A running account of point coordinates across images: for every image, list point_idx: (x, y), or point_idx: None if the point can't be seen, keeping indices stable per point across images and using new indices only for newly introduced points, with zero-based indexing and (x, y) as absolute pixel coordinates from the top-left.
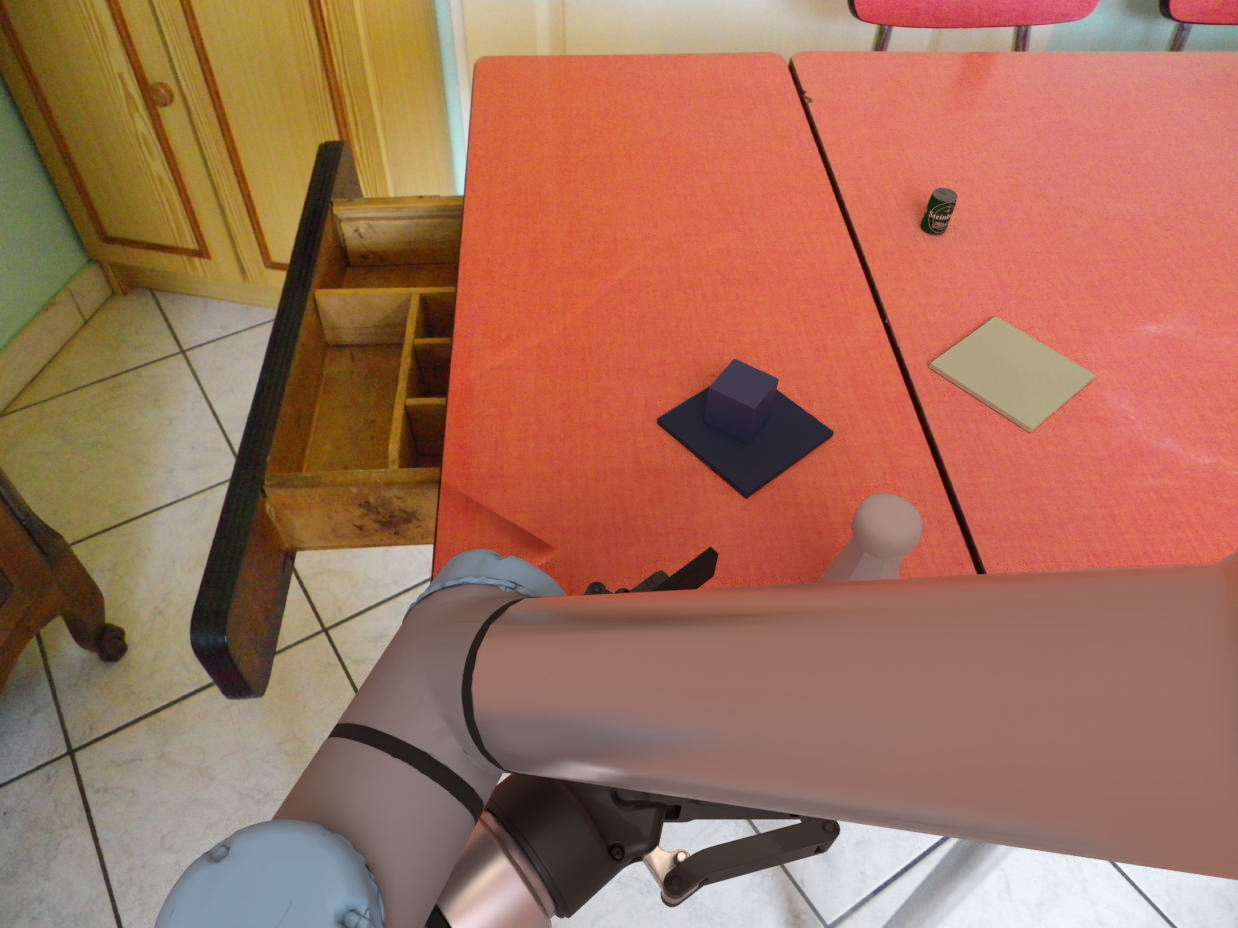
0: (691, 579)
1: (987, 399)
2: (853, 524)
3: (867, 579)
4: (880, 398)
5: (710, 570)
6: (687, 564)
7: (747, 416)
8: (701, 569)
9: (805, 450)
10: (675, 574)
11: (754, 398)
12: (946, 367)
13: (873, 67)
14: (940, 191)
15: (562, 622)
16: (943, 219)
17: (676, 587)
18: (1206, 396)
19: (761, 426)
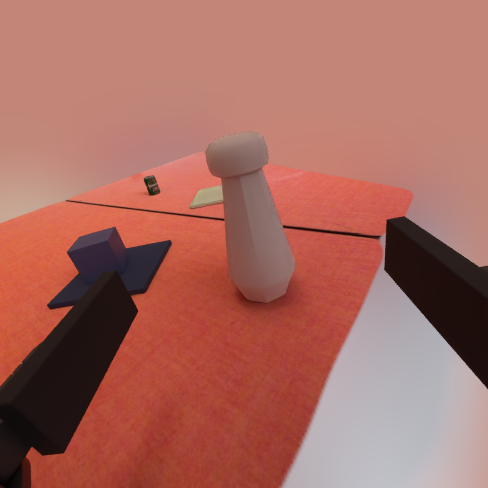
0: (99, 314)
1: (222, 199)
2: (215, 164)
3: (260, 209)
4: (181, 224)
5: (125, 299)
6: (78, 301)
7: (108, 250)
8: (105, 295)
9: (162, 252)
10: (63, 320)
11: (104, 238)
12: (197, 203)
13: (101, 188)
14: (146, 177)
15: None
16: (155, 185)
17: (75, 333)
18: (279, 169)
19: (127, 262)
